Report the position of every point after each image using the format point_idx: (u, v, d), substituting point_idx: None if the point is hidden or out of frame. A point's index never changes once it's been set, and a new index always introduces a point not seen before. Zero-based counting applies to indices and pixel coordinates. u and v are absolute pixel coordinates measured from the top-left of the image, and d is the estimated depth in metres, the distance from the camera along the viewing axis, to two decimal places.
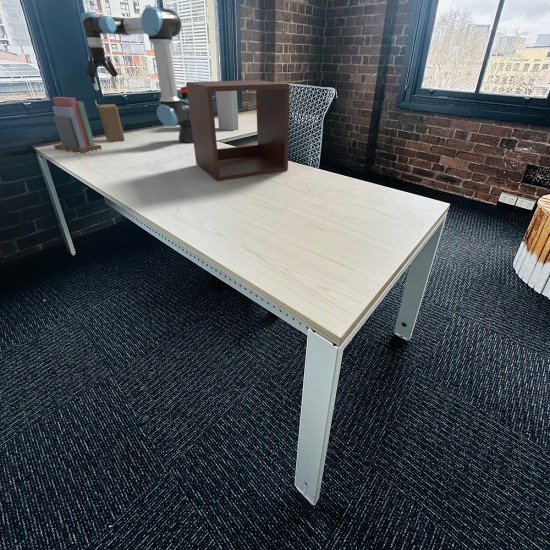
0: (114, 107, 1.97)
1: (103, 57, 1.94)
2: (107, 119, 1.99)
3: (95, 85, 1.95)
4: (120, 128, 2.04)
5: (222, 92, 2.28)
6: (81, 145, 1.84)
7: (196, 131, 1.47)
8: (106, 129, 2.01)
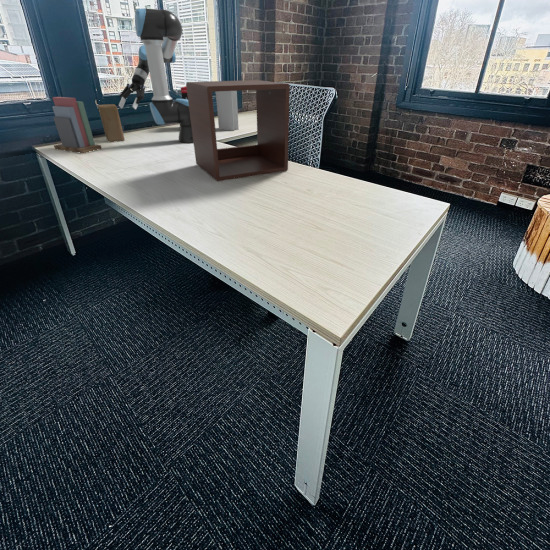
0: (114, 107, 1.97)
1: (138, 83, 2.12)
2: (107, 119, 1.99)
3: None
4: (120, 128, 2.04)
5: (222, 92, 2.28)
6: (81, 145, 1.84)
7: (196, 131, 1.47)
8: (106, 129, 2.01)
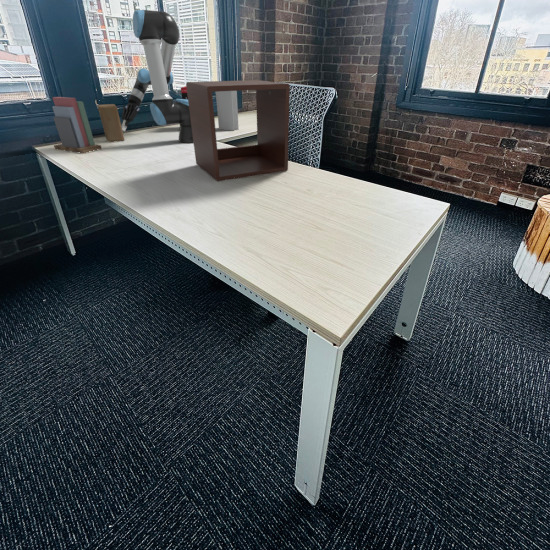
0: (114, 107, 1.97)
1: (135, 103, 2.14)
2: (107, 119, 1.99)
3: None
4: (120, 128, 2.04)
5: (222, 92, 2.28)
6: (81, 145, 1.84)
7: (196, 131, 1.47)
8: (106, 129, 2.01)
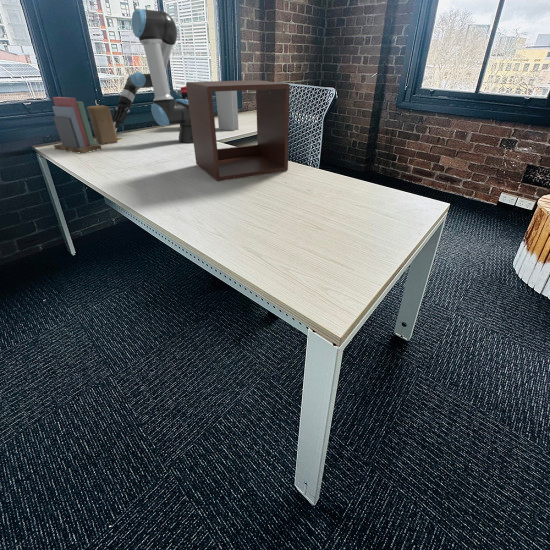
0: (107, 108, 1.93)
1: (125, 105, 2.09)
2: (100, 121, 1.94)
3: None
4: (113, 130, 2.00)
5: (222, 92, 2.28)
6: (81, 145, 1.84)
7: (196, 131, 1.47)
8: (99, 131, 1.96)
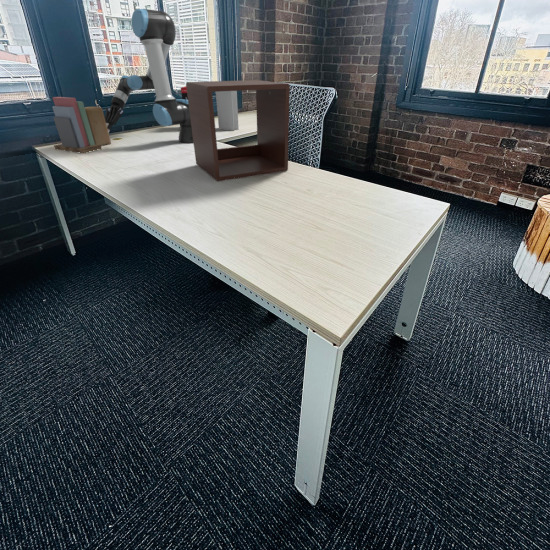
0: (100, 109, 1.89)
1: (118, 105, 2.04)
2: (94, 122, 1.89)
3: None
4: (107, 131, 1.96)
5: (222, 92, 2.28)
6: (81, 145, 1.84)
7: (196, 131, 1.47)
8: (93, 133, 1.91)
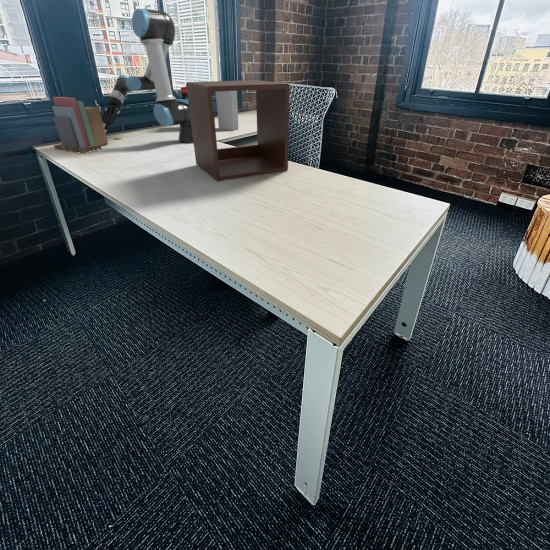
0: (97, 109, 1.87)
1: (115, 106, 2.02)
2: (91, 123, 1.87)
3: None
4: (104, 132, 1.94)
5: (222, 92, 2.28)
6: (81, 145, 1.84)
7: (196, 131, 1.47)
8: None
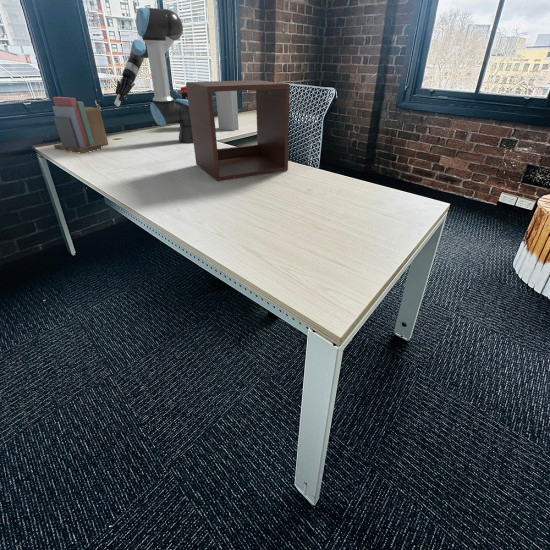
0: (97, 110, 1.87)
1: (129, 77, 2.06)
2: (91, 123, 1.87)
3: None
4: (104, 132, 1.94)
5: (222, 92, 2.28)
6: (81, 145, 1.84)
7: (196, 131, 1.47)
8: None
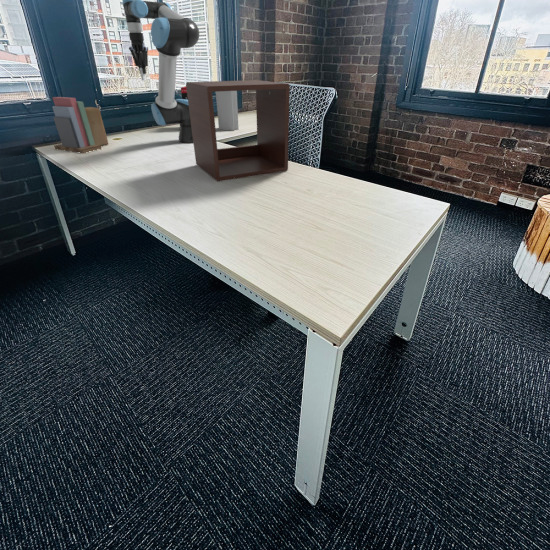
0: (97, 110, 1.87)
1: (139, 42, 1.90)
2: (91, 123, 1.87)
3: None
4: (104, 132, 1.94)
5: (222, 92, 2.28)
6: (81, 145, 1.84)
7: (196, 131, 1.47)
8: None
